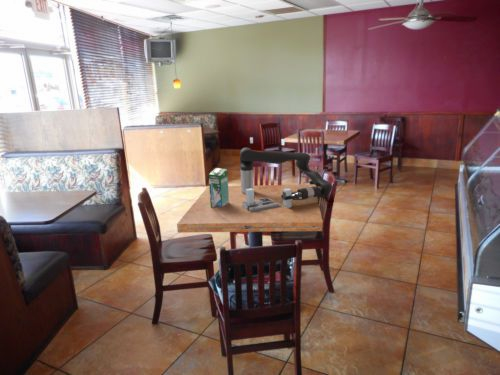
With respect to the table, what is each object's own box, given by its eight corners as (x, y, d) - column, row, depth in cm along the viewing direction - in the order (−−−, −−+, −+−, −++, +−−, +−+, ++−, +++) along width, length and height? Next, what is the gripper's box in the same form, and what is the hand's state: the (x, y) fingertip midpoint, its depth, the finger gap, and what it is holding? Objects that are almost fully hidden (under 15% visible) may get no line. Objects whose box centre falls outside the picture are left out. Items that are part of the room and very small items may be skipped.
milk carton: (210, 207, 238) (208, 170, 231) (217, 203, 246) (215, 167, 239) (222, 209, 234) (220, 171, 227) (229, 204, 242) (227, 168, 235)
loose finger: (282, 206, 236) (282, 189, 232) (288, 205, 238) (288, 188, 234) (285, 208, 232) (285, 190, 229) (291, 207, 234) (291, 189, 231)
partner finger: (246, 206, 233) (245, 189, 230) (252, 205, 235) (252, 187, 232) (248, 208, 230) (248, 190, 226) (255, 207, 231) (254, 189, 228)
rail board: (240, 207, 236) (240, 201, 235) (270, 202, 245) (270, 195, 244) (251, 215, 222) (251, 208, 221) (282, 209, 231) (282, 202, 230)
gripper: (299, 185, 244) (277, 189, 237) (312, 190, 232) (289, 194, 225) (299, 195, 246) (277, 199, 239) (311, 201, 234) (289, 206, 227)
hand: (283, 197), depth 232 cm, fingers closed on loose finger, 4 cm apart
